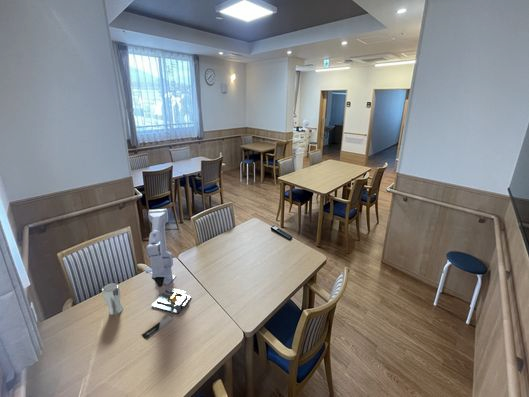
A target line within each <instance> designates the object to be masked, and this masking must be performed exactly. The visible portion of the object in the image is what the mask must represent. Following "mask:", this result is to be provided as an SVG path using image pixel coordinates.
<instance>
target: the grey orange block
mask: <svg viewBox="0 0 529 397" xmlns="http://www.w3.org/2000/svg"><path fill="white" fill-rule="evenodd" d="M179 300H180V298H179V297H177V294H176V293H174V294H173V295H172V296H171V298H170V303H172V304H175V305H176V303H177V302H178V301H179ZM187 302H188V300H186V299H185V300H184V301H183V302H182V304H181V305H180V306H181V307H184V306H187V304H188V303H189V302H188V303H187ZM184 308H185V307H184Z"/></svg>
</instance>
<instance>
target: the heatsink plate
mask: <svg viewBox="0 0 529 397" xmlns="http://www.w3.org/2000/svg"><path fill="white" fill-rule="evenodd" d="M174 293H176V294H177V297H179V298H180V300H179V301H178V302H177V303H176V305H175V304H172V303H170V298H171V296H172V295H173V294H174ZM185 299H186V300H188V302H187V304H188V303H189V302H190V301H191V299H192V296H190V295H188V294H187V292H186V291H184V290H180V289H177V288H173V287H169V288H168V289H165V290H164V291H163V292H162V293H161V295H160V296H158V298H157V299H156V300H155V301H154V302H153V303H152V304H151V308H152V309H153V308H154V309H156V310H159V311H163V312H167V313H171V314H174V315H177V316H178V315H180V313H181V312H182V311H183V309H184V308H185V306H186V305H185V306H184V307H181V306H180V305H181V304H182V302H183V301H184V300H185Z"/></svg>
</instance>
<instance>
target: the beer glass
mask: <svg viewBox="0 0 529 397" xmlns="http://www.w3.org/2000/svg"><path fill="white" fill-rule="evenodd" d="M101 291H102V295H103V299H104V301H105V304H106V305H107V306H108V310H109V314H110V316H116V315H119V314H121V312H123V310H124V306H123V304H122V303H121V300H122V299H121V291H120V287H119V286H118V284H117V283H116V282H115V283H114V282H111V283H108V284H106V285H104V286H103V287H102V290H101Z"/></svg>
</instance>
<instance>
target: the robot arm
mask: <svg viewBox="0 0 529 397" xmlns="http://www.w3.org/2000/svg"><path fill="white" fill-rule="evenodd" d="M147 216H148V217H147V218H148V220H149V221H150V223H151V232H150V233H149V236H148V237H149V238H148V245H146V249H145V252H146V256H147V258H148V260H149V263H150V267H147V268H146V269H145V274H150V275H151V280H153V281H154V282H155V283H156V285H157V287H159V288H162V287H163V286H164V285H167V286H168V285H169V284H170V283H171V282H172V281H173V280H174V279H175V278H176V277H177V276H176V275H174V274H173V270H172V267H173V266H174V258H173V253H172V252H170V251H168V250H167V237H166V223H169V210H168V208H160V209H159V208H157V209H149V210H148V213H147Z"/></svg>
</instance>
